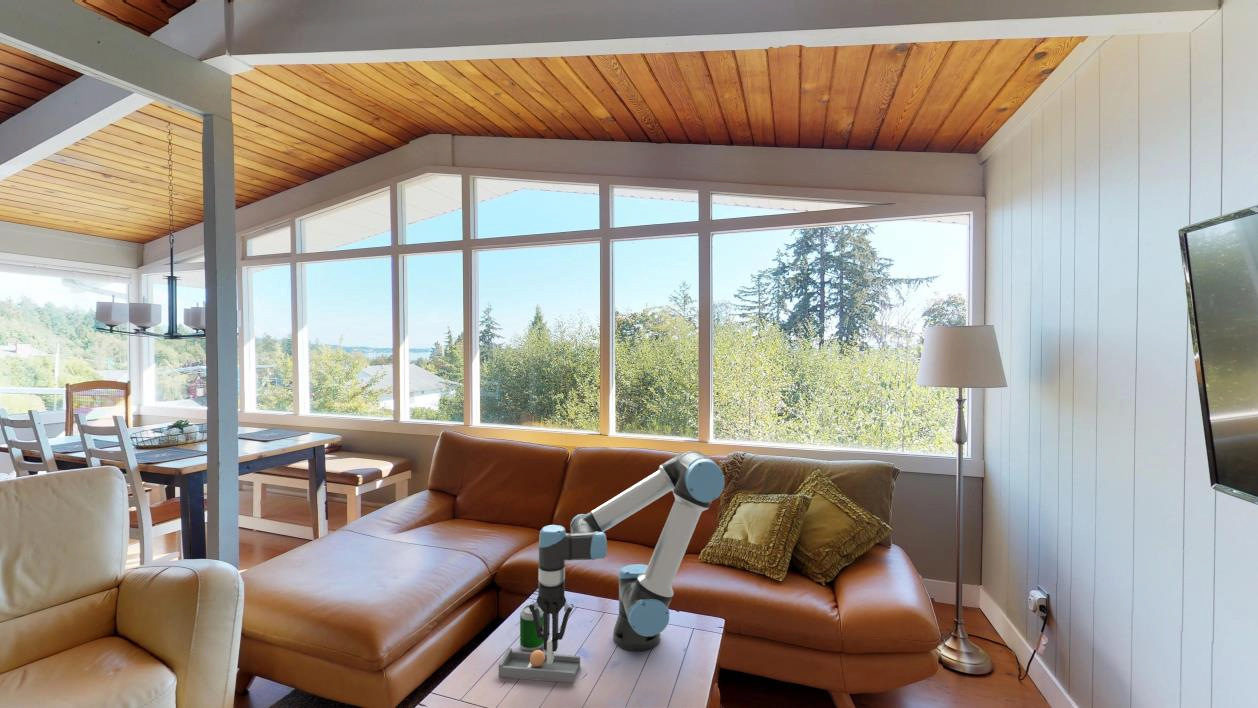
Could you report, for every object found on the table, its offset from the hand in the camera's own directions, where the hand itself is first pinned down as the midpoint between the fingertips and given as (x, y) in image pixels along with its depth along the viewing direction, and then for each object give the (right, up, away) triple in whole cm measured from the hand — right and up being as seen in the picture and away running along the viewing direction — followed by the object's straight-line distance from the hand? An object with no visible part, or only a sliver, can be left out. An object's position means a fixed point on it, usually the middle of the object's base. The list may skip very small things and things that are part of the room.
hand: (550, 661), depth 156 cm
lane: (-3, -3, +1) cm, 5 cm away
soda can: (-8, -3, +13) cm, 16 cm away
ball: (-4, 0, 0) cm, 4 cm away
